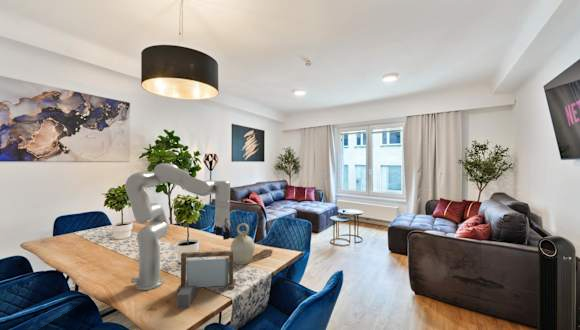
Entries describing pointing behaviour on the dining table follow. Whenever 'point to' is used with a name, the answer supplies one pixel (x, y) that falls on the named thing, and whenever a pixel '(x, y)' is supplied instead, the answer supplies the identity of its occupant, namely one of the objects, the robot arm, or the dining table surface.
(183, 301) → the doorstop
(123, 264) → the dining table surface
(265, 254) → the wooden fragment
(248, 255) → the jug
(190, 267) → the grey door panel
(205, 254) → the door frame
